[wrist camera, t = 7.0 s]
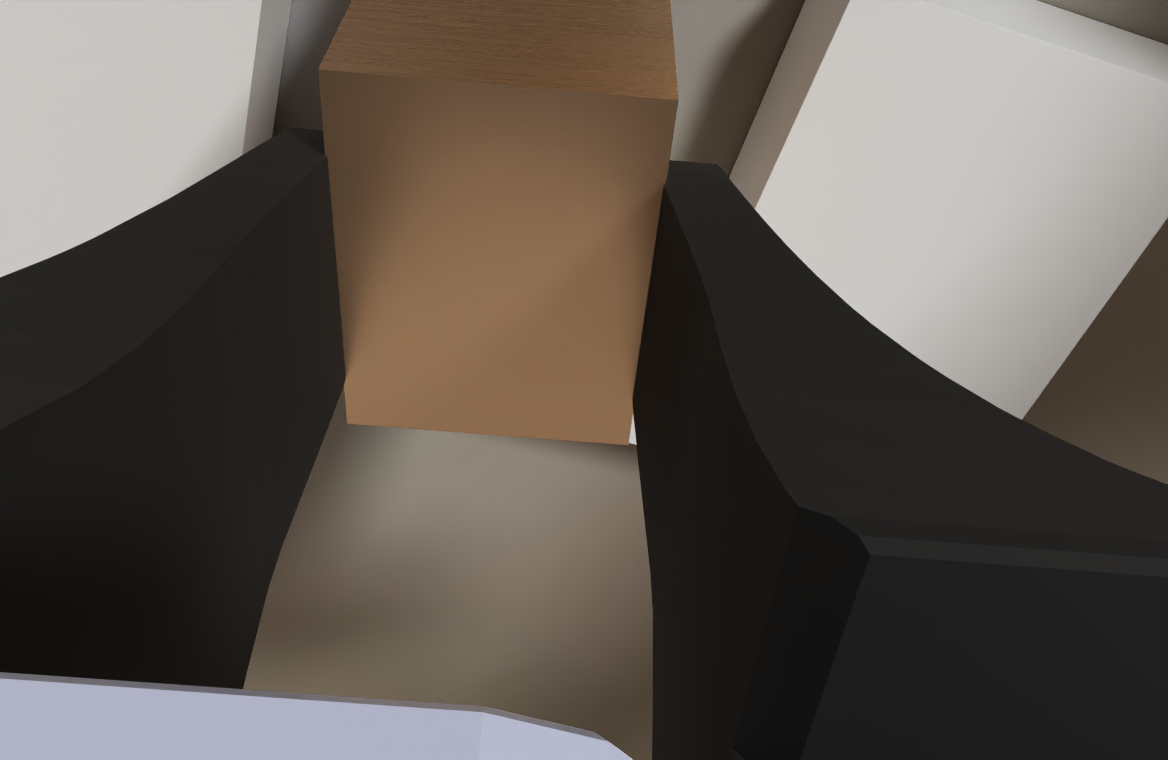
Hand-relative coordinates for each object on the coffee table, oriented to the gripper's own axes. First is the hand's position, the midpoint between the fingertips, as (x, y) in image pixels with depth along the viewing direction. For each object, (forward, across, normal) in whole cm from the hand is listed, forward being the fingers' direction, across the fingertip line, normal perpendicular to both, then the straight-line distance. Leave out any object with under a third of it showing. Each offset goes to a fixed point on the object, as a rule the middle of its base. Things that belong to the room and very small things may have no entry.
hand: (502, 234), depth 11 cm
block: (+4, 0, 0) cm, 4 cm away
